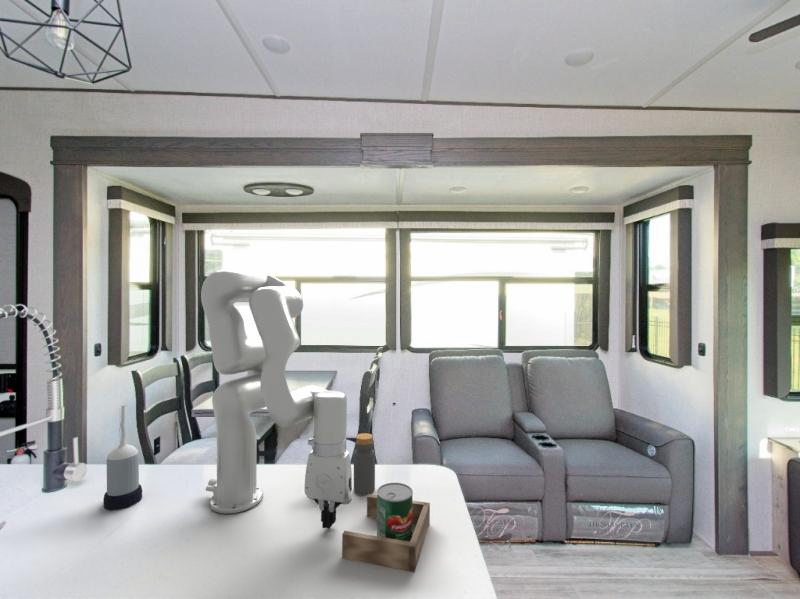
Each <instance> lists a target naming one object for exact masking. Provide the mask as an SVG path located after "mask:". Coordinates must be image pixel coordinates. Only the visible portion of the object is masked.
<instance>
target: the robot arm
mask: <svg viewBox="0 0 800 599" xmlns="http://www.w3.org/2000/svg"><path fill="white" fill-rule="evenodd" d="M200 294H201V295H200V300H201V305H202V307H203V308H202V309H203V311H204V314H205V317H206V320H207V324H208V325H207V326H208V331H209V332H208V333H209V340H210V348H211V352H212V360H213V366H214V368H215V370H216V372H217V373H219V374H220V375H224V376H230V375H236V374H242V373H246V372H247V376H243V377H239V378H235V379H231V380H228V381H225V382H224V383H222V384H220V385H219V386H217V387H216V389H215V390H214V392H213V394H212V397H211V398H212V399H211V403H212V409H213V414H214V419H215V429H216V479H213V478H211V479H209V480H208V481H207V482H208V483H207V485H206V487H205V491H206V492H212V493H213V496H212V497H211V499H210V502H209V505H210V509H211V510H212V511H214V513H215V512H216V513H219V514H225V515H226V514H228V515H229V514H236V513H241V512H244V511H247V510H249V509H250V510H251V509H252V508H254V507H255V506H257V505H258V504H259V503H260V502H261V501H262V499H263V496H264V493H263V492H264V491H263V489H261V487H260V486H257V429H256V426H255V423H254V422H253V421H252V419H251V417H250V415H251V413H254V412H257V411H259V410H262V409H264V408H266V409H267V412H268V414H269V416H270V418H271V419H272V421H273V422H274V423H275V424H276V425H277V426H278V427H281V428H291V427H293V426H296V425H298V424H300V423H303V422H305V421H306V420H310V419H313V420H312V422H313V423H312V424H313V425H312V438H309V439H308V440H307V444H308V445H309V446H311V449H312V450H310V451H309V453H308V457H307V462H306V463H307V464H306V467H305V476H304V494H305V495H306V497H307V498H309V499H310V500H314V501H315V503H316V504H317V505H318V509H319V511H320V521H321V524H322V525H321V526H322V529H327V530H330V529H331V527H332V526H333V525H334V524H335V523H336V521H337V509H338V507H339V506H341V505H349V504H351V501H352V495H351V492H352V490H353V475H352V474H353V472H352V462H351V457H350V453H349V450H347V425H348V424H347V422H348V421H347V420H348V419H347V418H348V417H347V415H348V406H347V405H348V397H347V395H346V394H345V393H344V392H343V391H339V390H334V389H333V390H329V389H325V388H323V387H320V386H317V385H314V384H312V385H311V384H308V385H304V386H301V387H299V388H295V389H291V390H290V389H289V386H288V382H287V377H286V367H287V364H288V361H289V359H290V357H291V355H293V353H294V352H295V351H296V350H297V349H298V348H299V346H300V345H301V338H300V336H299V333H298V330H297V328H296V325H295V322H294V320H293V319H294V318H297V317H299V316H300V314H301V313H302V311H303V308H304V301H303V297H302V295H301V293H300V292H299V291H298V290H297V289H296V288H295V287H293V286H292V285H290V284H289V283H286V282H284V281H283V280H281V279H278V278H276V277H275V276H274V275H271V274H269V273H266V272H265V271H260V270H259V271H258V270H257V271H256V270H245V269H230V268H228V269H220V270H216V271H213V272H211V273H210V274H209V275H207V277H205V279H204V282H203V284H202V286H201V290H200ZM235 303H248V305H249V310H250V311H251V315H252V318H253V321H254V324H255V327H256V329H257V332H258V335H257V334H251V335H247V333H246V327H245V321H244V319H243V316H242V314H241V313H240V311H239V310H238V309H237V308H236V306H234V304H235Z"/></svg>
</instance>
